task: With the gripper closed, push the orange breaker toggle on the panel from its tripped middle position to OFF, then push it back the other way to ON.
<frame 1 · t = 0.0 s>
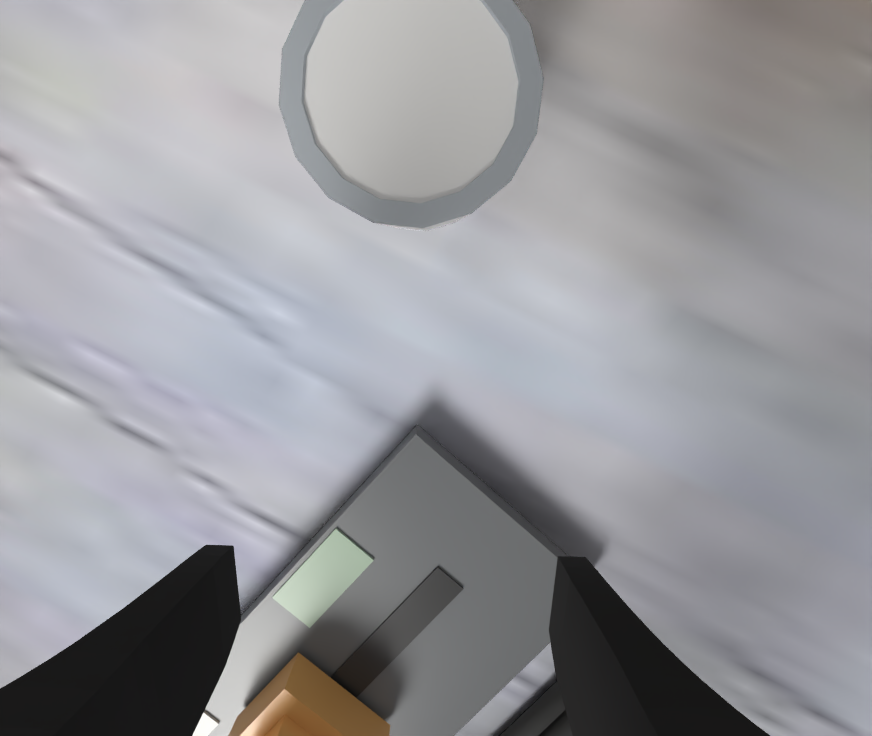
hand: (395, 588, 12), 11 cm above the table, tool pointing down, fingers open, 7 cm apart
shot glass: (420, 157, 21), on the table
breaker panel: (352, 658, 24), on the table
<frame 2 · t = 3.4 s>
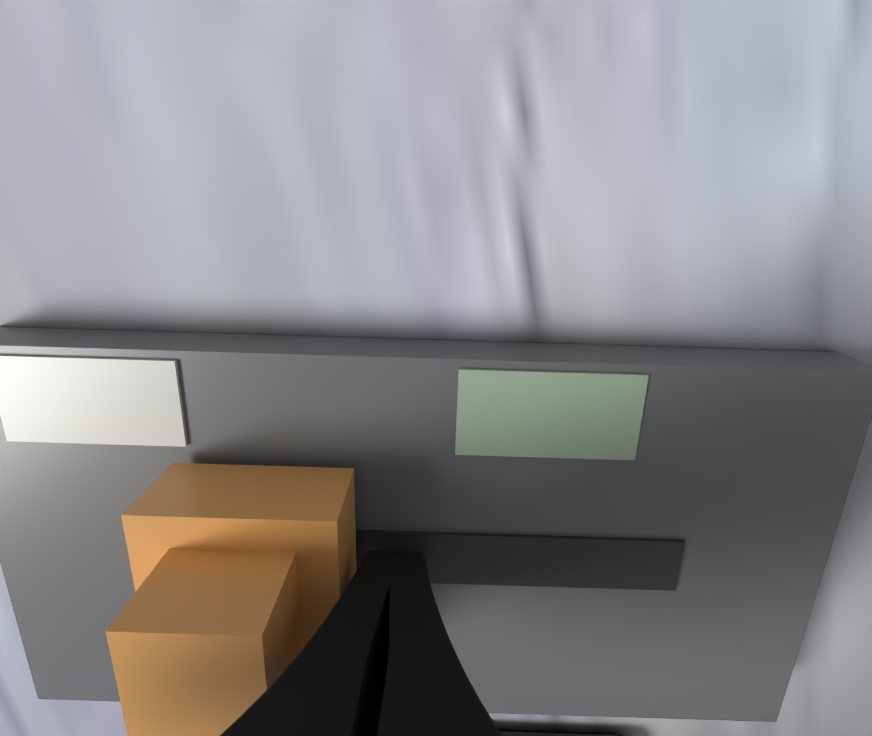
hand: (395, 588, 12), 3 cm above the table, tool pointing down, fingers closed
breaker toggle: (240, 625, 11), point 4 cm above the table, slide at 3.8 cm, touching gripper
breaker panel: (412, 519, 14), on the table
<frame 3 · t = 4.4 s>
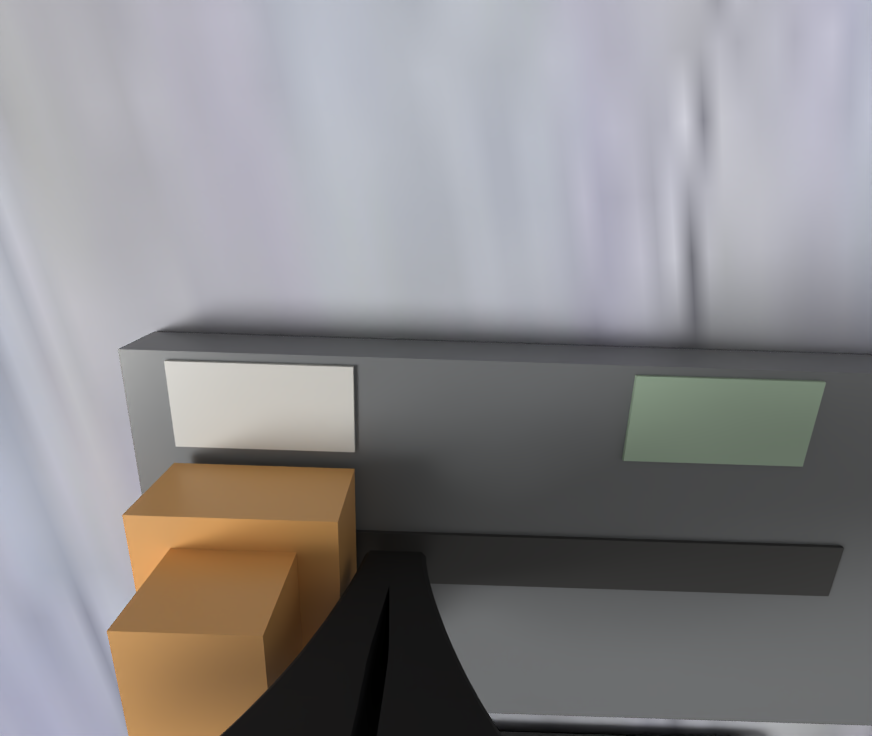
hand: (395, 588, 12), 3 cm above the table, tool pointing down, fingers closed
breaker toggle: (241, 625, 11), point 4 cm above the table, slide at 0.0 cm, touching gripper
breaker panel: (552, 524, 14), on the table
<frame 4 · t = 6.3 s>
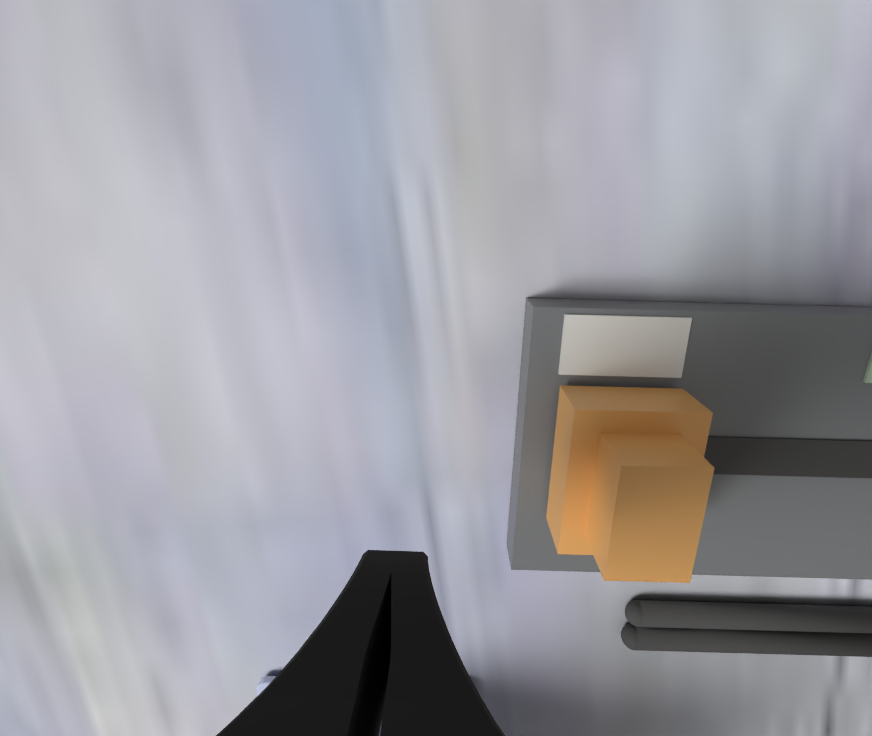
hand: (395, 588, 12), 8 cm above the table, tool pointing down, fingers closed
cord bundle: (759, 630, 23), on the table
breaker toggle: (631, 487, 16), point 4 cm above the table, slide at 0.0 cm
breaker panel: (784, 438, 20), on the table
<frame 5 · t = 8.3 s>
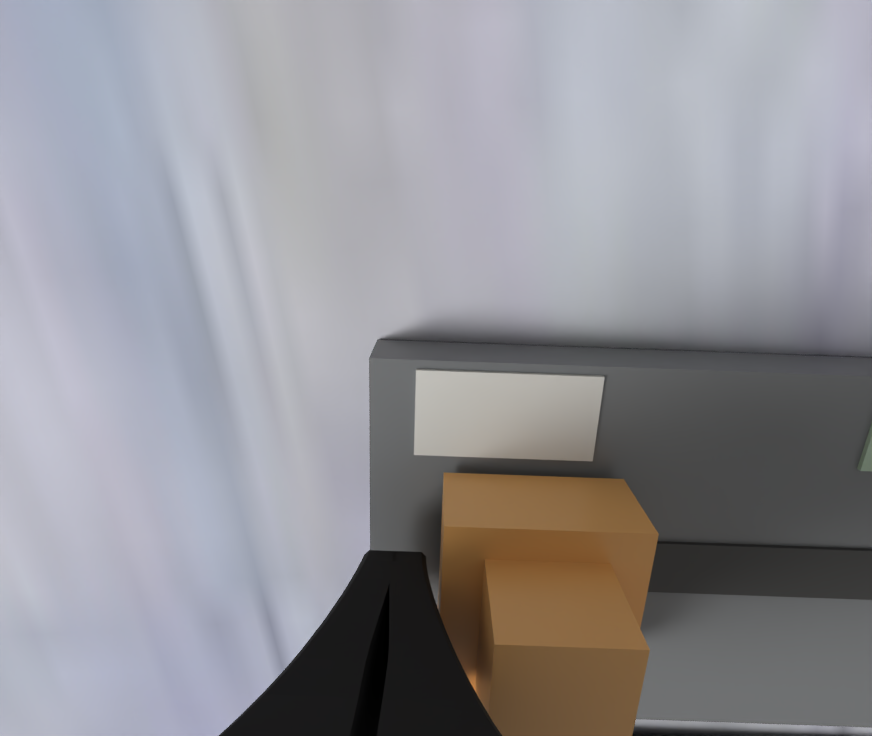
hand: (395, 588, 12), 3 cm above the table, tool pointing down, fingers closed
breaker toggle: (538, 636, 11), point 4 cm above the table, slide at 0.7 cm, touching gripper
breaker panel: (748, 532, 14), on the table
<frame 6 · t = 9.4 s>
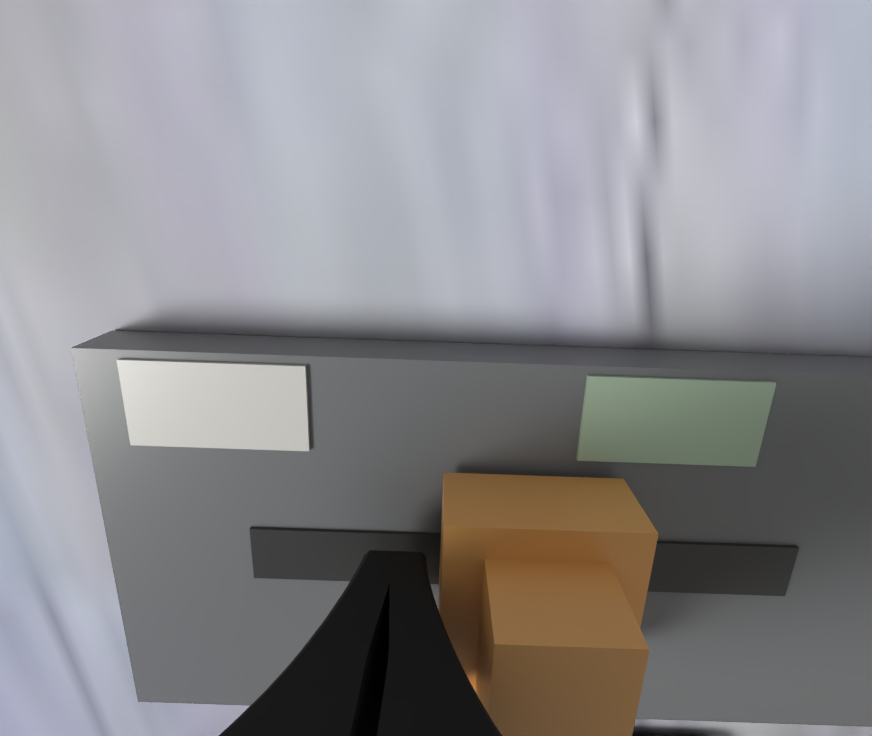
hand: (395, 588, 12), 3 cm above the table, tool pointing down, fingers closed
breaker toggle: (538, 636, 11), point 4 cm above the table, slide at 7.0 cm, touching gripper
breaker panel: (513, 523, 14), on the table
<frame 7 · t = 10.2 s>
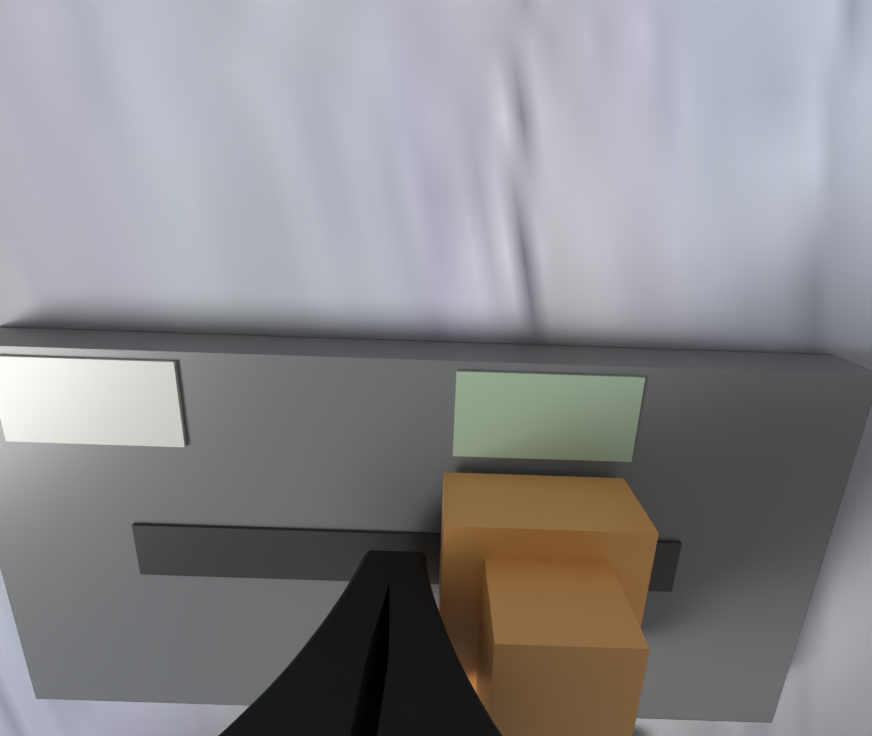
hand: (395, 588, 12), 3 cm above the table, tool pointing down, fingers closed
breaker toggle: (538, 635, 11), point 4 cm above the table, slide at 9.8 cm, touching gripper
breaker panel: (410, 520, 14), on the table
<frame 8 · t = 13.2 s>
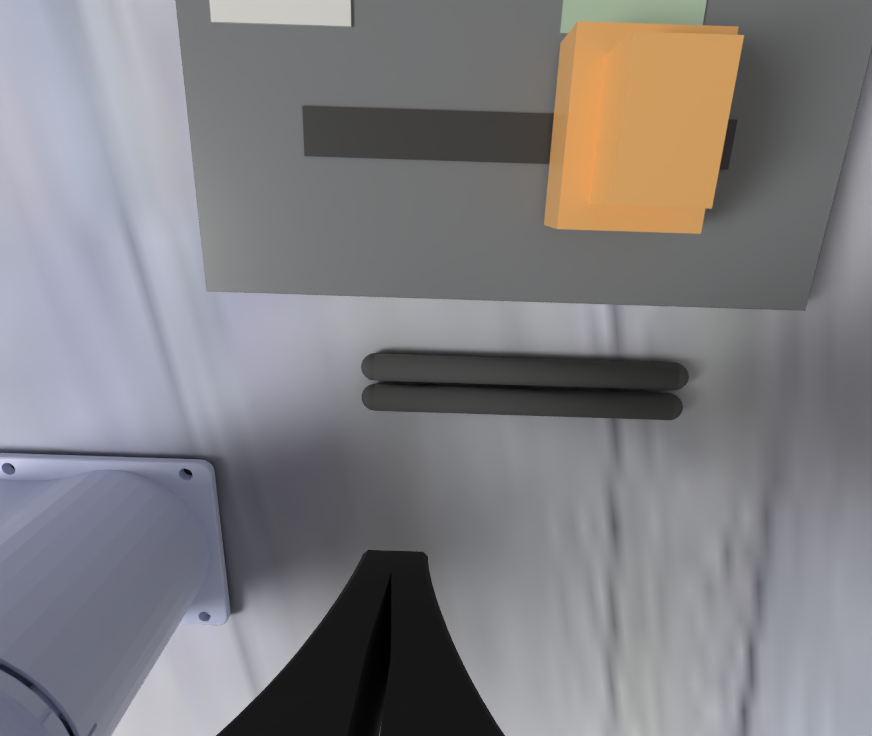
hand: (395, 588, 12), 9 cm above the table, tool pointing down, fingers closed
cord bundle: (519, 397, 20), on the table
breaker toggle: (642, 133, 14), point 4 cm above the table, slide at 10.0 cm
breaker panel: (511, 142, 18), on the table
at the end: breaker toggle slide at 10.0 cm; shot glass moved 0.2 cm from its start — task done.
